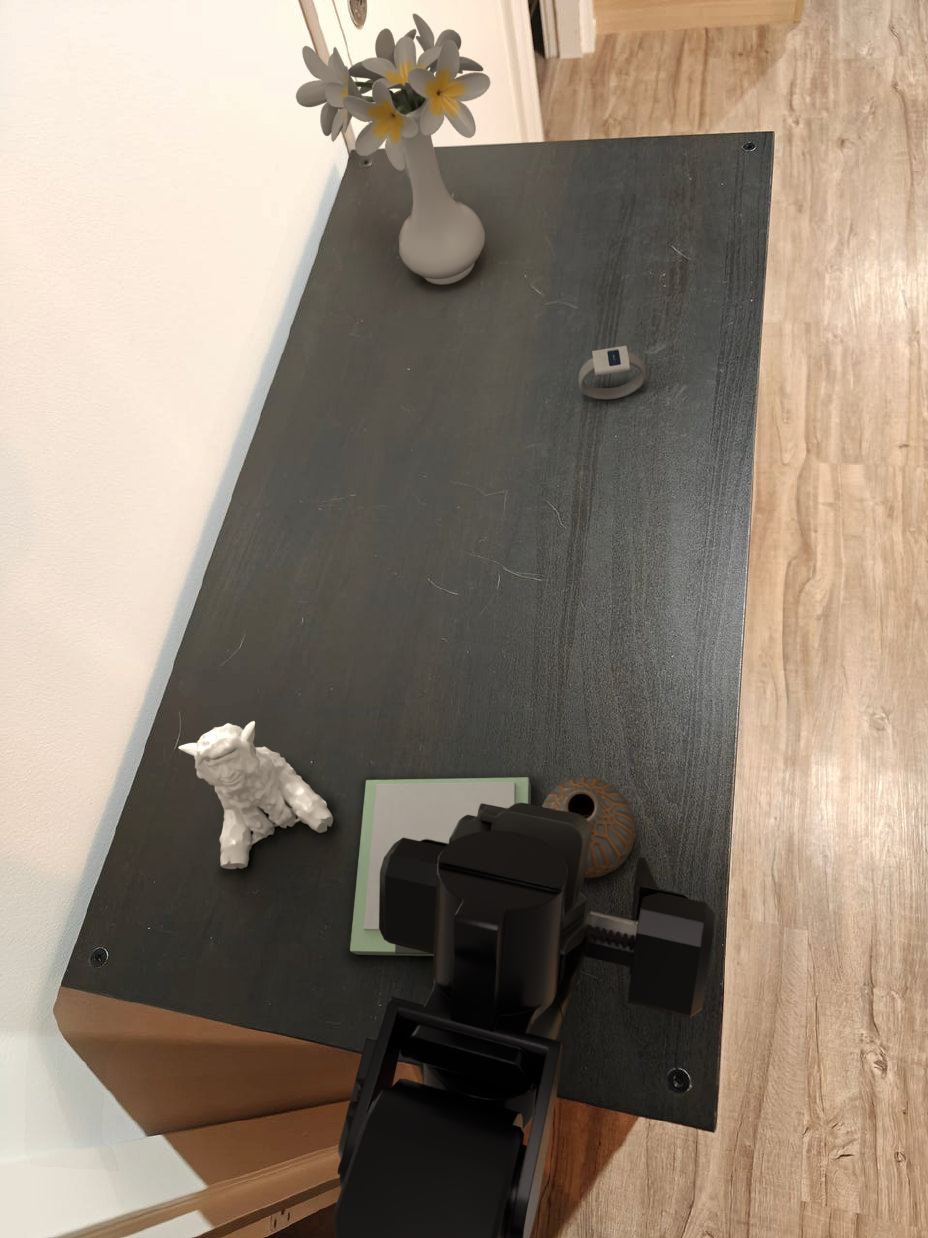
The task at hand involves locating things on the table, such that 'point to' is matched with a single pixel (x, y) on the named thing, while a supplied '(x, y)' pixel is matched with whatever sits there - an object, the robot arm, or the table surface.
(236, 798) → the sitting furry creature
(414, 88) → the flower vase
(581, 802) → the vase
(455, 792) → the scale
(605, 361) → the wristwatch
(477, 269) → the table surface
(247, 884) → the table surface
